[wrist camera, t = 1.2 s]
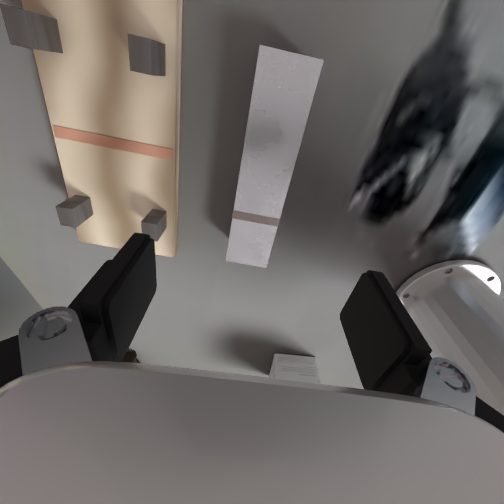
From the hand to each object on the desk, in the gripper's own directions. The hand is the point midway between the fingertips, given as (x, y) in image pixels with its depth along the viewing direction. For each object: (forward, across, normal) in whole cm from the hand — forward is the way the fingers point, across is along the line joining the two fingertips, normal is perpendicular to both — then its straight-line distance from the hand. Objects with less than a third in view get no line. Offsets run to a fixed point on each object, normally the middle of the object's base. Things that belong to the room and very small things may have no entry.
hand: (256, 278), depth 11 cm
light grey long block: (+17, -1, 0) cm, 17 cm away
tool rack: (+17, +13, 0) cm, 22 cm away
